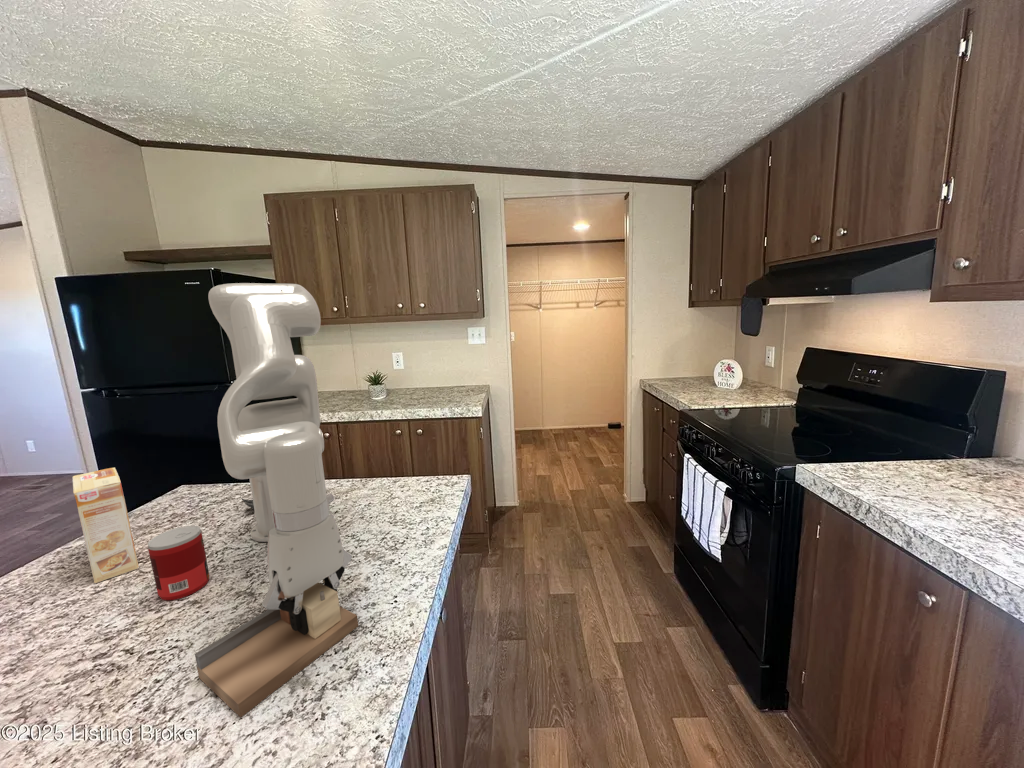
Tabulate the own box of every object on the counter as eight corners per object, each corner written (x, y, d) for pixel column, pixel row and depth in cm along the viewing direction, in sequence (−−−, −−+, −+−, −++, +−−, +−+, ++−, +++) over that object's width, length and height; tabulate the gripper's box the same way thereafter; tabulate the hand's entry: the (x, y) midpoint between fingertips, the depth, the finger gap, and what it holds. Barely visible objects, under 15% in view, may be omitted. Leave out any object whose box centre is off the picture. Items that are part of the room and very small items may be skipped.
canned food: (219, 578, 83) (210, 527, 81) (176, 605, 75) (165, 549, 74) (193, 572, 85) (183, 522, 84) (148, 597, 78) (137, 544, 76)
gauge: (281, 618, 67) (274, 574, 66) (309, 600, 72) (303, 558, 70) (313, 640, 63) (306, 592, 61) (342, 618, 67) (336, 573, 65)
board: (199, 677, 59) (194, 653, 59) (315, 602, 74) (312, 582, 74) (240, 717, 53) (235, 690, 52) (358, 626, 68) (355, 604, 67)
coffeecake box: (140, 568, 88) (121, 481, 85) (93, 585, 83) (71, 493, 80) (132, 544, 98) (115, 465, 95) (90, 558, 93) (70, 475, 90)
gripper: (335, 488, 72) (347, 583, 75) (229, 533, 58) (248, 647, 61) (363, 496, 68) (375, 596, 71) (256, 547, 54) (276, 668, 57)
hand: (316, 618), depth 66 cm, fingers closed on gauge, 4 cm apart
